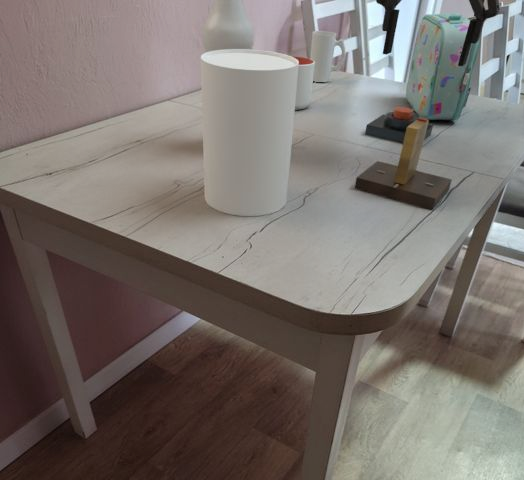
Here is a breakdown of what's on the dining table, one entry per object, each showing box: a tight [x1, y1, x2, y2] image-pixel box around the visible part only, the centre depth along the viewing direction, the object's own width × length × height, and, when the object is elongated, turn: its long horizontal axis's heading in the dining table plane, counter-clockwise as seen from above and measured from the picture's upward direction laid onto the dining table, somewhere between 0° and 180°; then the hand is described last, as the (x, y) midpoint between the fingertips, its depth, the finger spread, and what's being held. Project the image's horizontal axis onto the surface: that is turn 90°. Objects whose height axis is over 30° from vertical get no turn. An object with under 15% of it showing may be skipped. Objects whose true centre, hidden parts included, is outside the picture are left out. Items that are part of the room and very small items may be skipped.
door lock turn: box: [394, 116, 430, 185], centre depth 82 cm, size 6×2×9 cm, turn 149°
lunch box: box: [405, 12, 481, 122], centre depth 118 cm, size 27×10×21 cm, turn 179°
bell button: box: [393, 106, 414, 120], centre depth 106 cm, size 4×4×2 cm
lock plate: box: [354, 160, 453, 211], centre depth 85 cm, size 14×10×2 cm
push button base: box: [364, 111, 434, 145], centre depth 108 cm, size 12×10×4 cm
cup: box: [290, 55, 315, 111], centre depth 120 cm, size 10×10×10 cm
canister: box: [200, 49, 299, 217], centre depth 74 cm, size 14×14×20 cm
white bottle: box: [202, 0, 255, 53], centre depth 89 cm, size 9×9×28 cm
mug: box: [309, 30, 346, 83], centre depth 140 cm, size 10×7×12 cm, turn 77°
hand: (423, 59), depth 87 cm, fingers open, 13 cm apart
